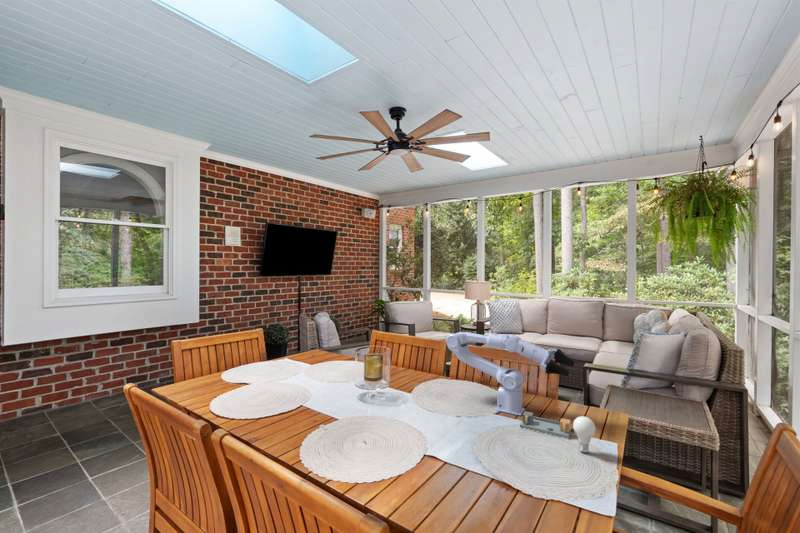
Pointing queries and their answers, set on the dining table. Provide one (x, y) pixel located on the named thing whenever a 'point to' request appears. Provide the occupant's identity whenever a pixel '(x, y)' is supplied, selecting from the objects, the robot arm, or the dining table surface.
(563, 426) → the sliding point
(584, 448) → the lightbulb
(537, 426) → the gauge board
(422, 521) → the dining table surface
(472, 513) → the dining table surface
